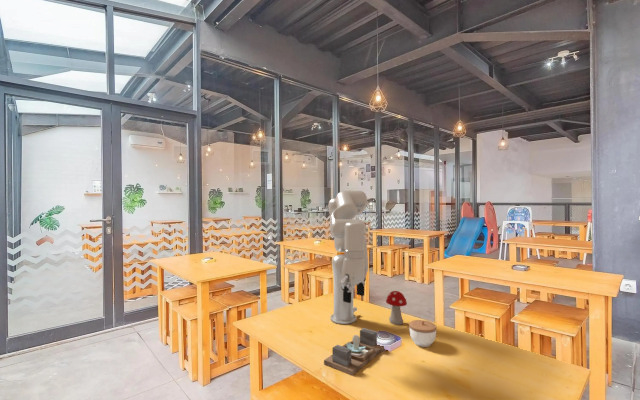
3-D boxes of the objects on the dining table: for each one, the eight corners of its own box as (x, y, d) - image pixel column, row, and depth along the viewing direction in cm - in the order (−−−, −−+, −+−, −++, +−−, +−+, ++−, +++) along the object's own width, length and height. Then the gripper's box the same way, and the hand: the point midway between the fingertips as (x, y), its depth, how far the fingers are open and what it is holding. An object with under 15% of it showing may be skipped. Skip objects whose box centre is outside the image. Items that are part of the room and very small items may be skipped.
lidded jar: (404, 343, 136) (404, 321, 136) (416, 335, 144) (416, 314, 144) (429, 352, 129) (429, 328, 129) (440, 343, 137) (441, 320, 136)
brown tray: (358, 340, 139) (358, 325, 138) (384, 349, 131) (384, 332, 131) (324, 364, 119) (324, 346, 119) (352, 375, 112) (352, 356, 112)
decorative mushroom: (382, 322, 158) (382, 291, 158) (391, 317, 165) (391, 287, 165) (401, 328, 152) (401, 295, 152) (409, 322, 158) (410, 291, 158)
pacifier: (361, 358, 121) (367, 351, 126) (361, 342, 120) (367, 335, 126) (342, 354, 124) (349, 347, 129) (342, 337, 124) (349, 331, 129)
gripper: (357, 249, 136) (357, 290, 137) (333, 256, 122) (333, 302, 123) (373, 251, 131) (373, 294, 132) (350, 259, 118) (350, 307, 118)
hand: (353, 298), depth 128 cm, fingers open, 9 cm apart
